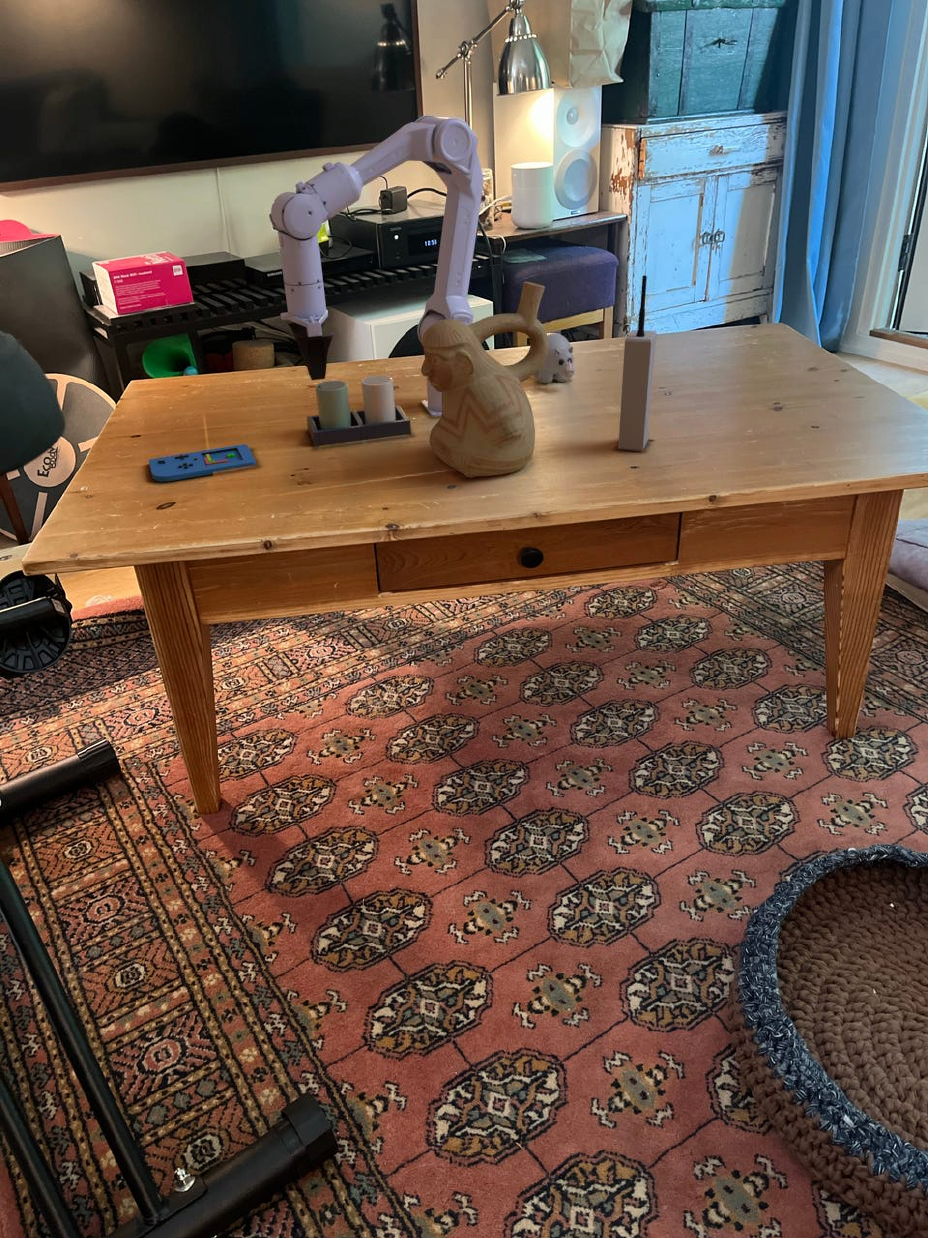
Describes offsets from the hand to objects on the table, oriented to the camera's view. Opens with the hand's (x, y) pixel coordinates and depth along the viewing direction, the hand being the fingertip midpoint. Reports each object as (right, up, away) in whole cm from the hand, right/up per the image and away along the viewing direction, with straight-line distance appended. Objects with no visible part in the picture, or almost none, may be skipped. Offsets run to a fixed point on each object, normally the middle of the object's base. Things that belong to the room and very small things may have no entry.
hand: (314, 372), depth 142 cm
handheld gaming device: (-16, -16, -5) cm, 23 cm away
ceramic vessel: (+27, -16, -7) cm, 32 cm away
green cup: (+3, -9, +4) cm, 10 cm away
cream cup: (+10, -8, +5) cm, 14 cm away
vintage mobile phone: (+49, -12, -3) cm, 51 cm away
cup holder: (+6, -9, +5) cm, 12 cm away
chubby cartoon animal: (+40, +4, +24) cm, 47 cm away
